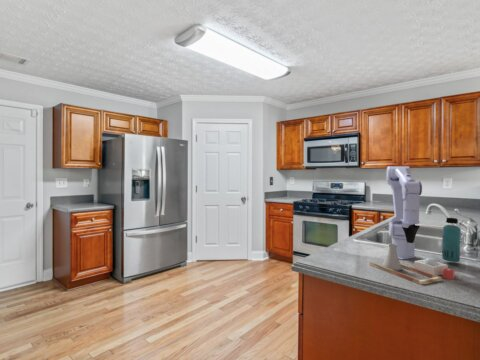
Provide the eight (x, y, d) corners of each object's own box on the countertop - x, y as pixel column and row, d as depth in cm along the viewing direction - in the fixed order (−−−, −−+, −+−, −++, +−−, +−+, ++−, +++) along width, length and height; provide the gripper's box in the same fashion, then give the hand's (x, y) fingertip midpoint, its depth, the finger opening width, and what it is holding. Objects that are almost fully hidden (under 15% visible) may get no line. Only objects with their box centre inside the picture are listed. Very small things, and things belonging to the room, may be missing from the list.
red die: (445, 275, 110) (445, 267, 110) (454, 277, 108) (454, 269, 108) (442, 277, 108) (443, 269, 108) (452, 279, 106) (452, 271, 106)
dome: (428, 267, 118) (428, 255, 118) (441, 270, 113) (441, 259, 113) (420, 268, 116) (420, 256, 116) (432, 272, 111) (432, 260, 111)
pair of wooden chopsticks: (388, 262, 126) (388, 259, 126) (441, 280, 105) (441, 277, 105) (369, 264, 122) (369, 262, 122) (421, 284, 101) (421, 281, 101)
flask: (378, 265, 122) (379, 242, 121) (394, 265, 122) (395, 242, 122) (388, 271, 114) (389, 246, 114) (406, 271, 115) (406, 246, 115)
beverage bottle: (457, 262, 127) (459, 217, 126) (462, 266, 121) (463, 219, 120) (440, 260, 130) (441, 216, 129) (443, 264, 124) (444, 218, 123)
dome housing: (427, 267, 120) (427, 259, 120) (447, 273, 112) (447, 264, 112) (414, 269, 117) (414, 261, 117) (433, 276, 109) (433, 267, 109)
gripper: (406, 207, 127) (405, 238, 127) (394, 210, 117) (393, 243, 118) (424, 209, 122) (423, 241, 122) (413, 212, 112) (412, 247, 112)
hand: (410, 242), depth 120 cm, fingers closed
